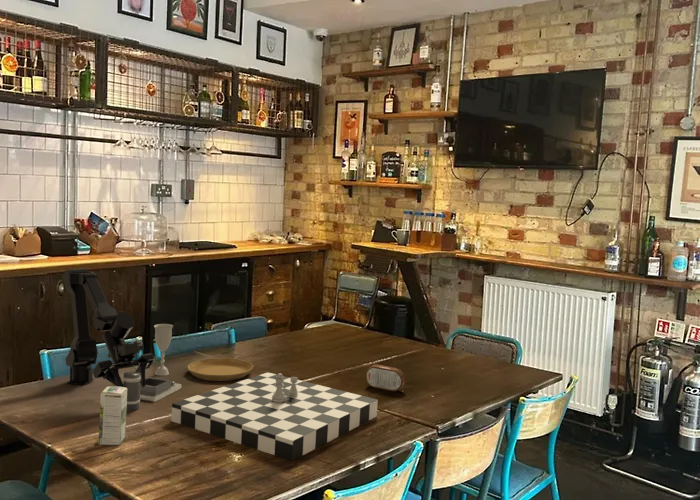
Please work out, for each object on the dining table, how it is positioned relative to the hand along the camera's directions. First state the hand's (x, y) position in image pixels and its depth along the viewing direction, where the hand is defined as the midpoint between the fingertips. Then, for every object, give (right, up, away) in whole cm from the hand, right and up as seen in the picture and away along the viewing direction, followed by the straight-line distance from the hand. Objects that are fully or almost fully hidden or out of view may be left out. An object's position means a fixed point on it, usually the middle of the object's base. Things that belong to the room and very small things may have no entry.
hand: (134, 388), depth 205 cm
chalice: (-3, -3, +40) cm, 40 cm away
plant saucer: (+18, -4, +44) cm, 48 cm away
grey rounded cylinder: (-1, -6, +2) cm, 7 cm away
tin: (+79, -8, +37) cm, 88 cm away
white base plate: (+1, -5, +18) cm, 19 cm away
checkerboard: (+45, -10, 0) cm, 46 cm away
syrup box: (+2, -9, -25) cm, 27 cm away
